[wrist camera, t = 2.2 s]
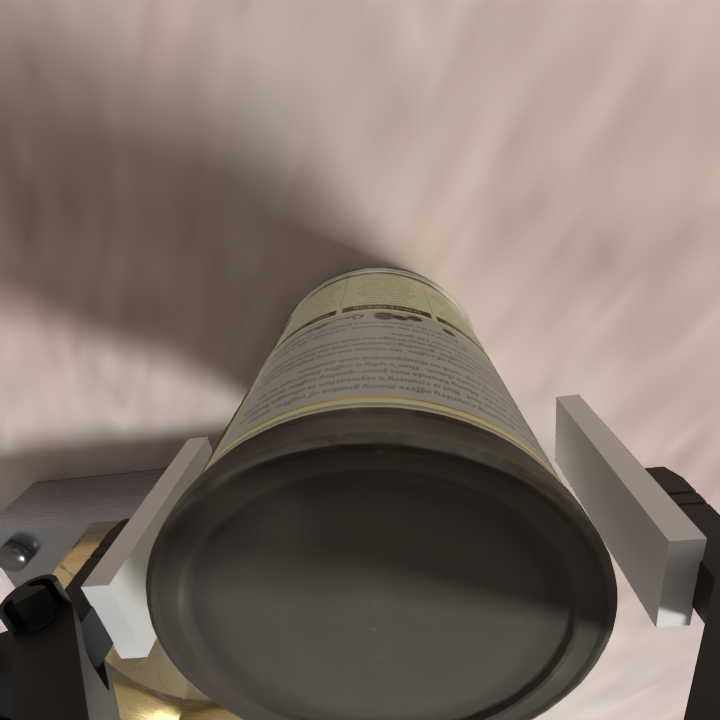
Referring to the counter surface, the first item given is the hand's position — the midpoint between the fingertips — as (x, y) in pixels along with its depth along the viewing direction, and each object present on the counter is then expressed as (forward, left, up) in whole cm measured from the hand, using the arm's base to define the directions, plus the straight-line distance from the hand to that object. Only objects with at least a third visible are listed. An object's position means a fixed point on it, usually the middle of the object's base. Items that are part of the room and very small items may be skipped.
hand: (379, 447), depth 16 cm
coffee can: (0, 0, -7) cm, 7 cm away
